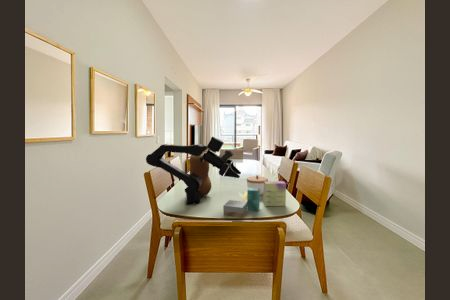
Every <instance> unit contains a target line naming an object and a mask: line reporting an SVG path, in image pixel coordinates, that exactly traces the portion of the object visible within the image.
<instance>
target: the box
mask: <svg viewBox="0 0 450 300" xmlns="http://www.w3.org/2000/svg"><path fill="white" fill-rule="evenodd" d="M286 194H287V183H286V182H285V181H284V180H283V181H282V180H274V181H273V180H271V181H270V180H268V181H264V193H263V204H264V206H265V207H286V206H287V205H286V203H287V202H286V200H287V199H286V197H287V195H286Z"/></svg>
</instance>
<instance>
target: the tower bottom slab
mask: <svg viewBox="0 0 450 300" xmlns="http://www.w3.org/2000/svg"><path fill="white" fill-rule="evenodd" d="M247 212H248V210H247V208H246V209H245V211H244V212H243V213H236V212H228V211H223V216H227V217H235V218H244V216H245V215H246V213H247Z"/></svg>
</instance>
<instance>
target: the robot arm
mask: <svg viewBox="0 0 450 300" xmlns="http://www.w3.org/2000/svg"><path fill="white" fill-rule="evenodd" d="M224 144H225V142H224V141H223V140H221V139H220V138H217V137H215V136H211V138H210V141H209V142H208V144H206V145H203V144H200V143H197V144H192V145H182V144H181V145H180V144H167V143H164V144H160V146H159V147H157V149H155V150H154V151H152V152H151V153H150V154H147V155H146V157H145V161H146V164H148V165H149V166H152V167H156V168H160V169H161V170H163V171H165V172H167V173H169V174H170V175H172V176H174V177H176V178H177V179H179V180H181V181H182V182H183V183H184V184H185V185H186V188H184V192H185V203H186V205H187V206H191V205H198V204H200V201H201V200H200V198H201V197H200V194H199V191H198V189H199V187H200V186H201V185H202V179H201V178H200V176H197V175H196V174H195V173H192V174H191V175H190V173H187V172H186V171H184V170H181V169H180V168H178V167H177V166H175V165H173V164H172V163H170V162H168V160H166V159H165V157H164V156H165V155H166V153H176V154H177V153H179V154H187V155H190V156H191V155H194V156H200V155H202V154H203V156H202V157H200V162H201V163H202V162H203V161H204V160H205V161H207V162H208V163H209V165H212V167H213V168H216V169H218V170H219V171H218V175H220V176H221V177H227V178H228V177H230V178H234V179H235V178H236V179H239V178H240V177H241V176H240V175H241V173H242V171H240V170H239V169H238V168H237V167H236V166H235V164H234V161H233V159H231V157H234V152H233V151H232V150H231V149H229V150H228V149H226V150H225V151H224V154H222V155H220V154H219V155H218V154H216V153H219V152H220V150H221V149H222V147H223V145H224ZM205 151H206V152H205Z"/></svg>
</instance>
